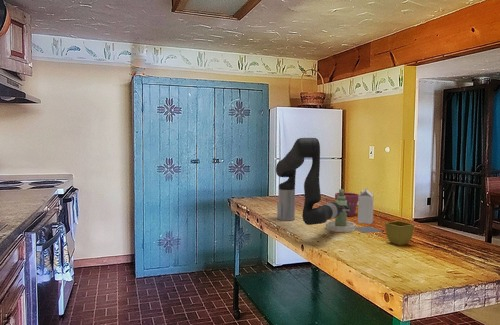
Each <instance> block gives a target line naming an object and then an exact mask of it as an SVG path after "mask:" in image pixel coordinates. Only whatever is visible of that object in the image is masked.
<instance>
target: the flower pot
mask: <svg viewBox="0 0 500 325" xmlns="http://www.w3.org/2000/svg"><path fill="white" fill-rule="evenodd" d="M384 227H385V234H386V238H388V241H389V242H390V243H391V244H395V245H397V246H403V245H408V244H409V243H410V242H411V240H412V238H413V234H414V230H415V224H414V223H409V222H406V221H401V220H394V221H388V222H385V223H384Z"/></svg>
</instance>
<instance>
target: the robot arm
mask: <svg viewBox="0 0 500 325" xmlns="http://www.w3.org/2000/svg"><path fill="white" fill-rule="evenodd" d="M307 158H309V159H311V160H312V161H311V167H310V170H309V171H308V174H307V175H306V178H305V179H304V183H303V190H304V191H303V192H304V203H303V209H302V215H301V216H302V221H303V223H304V224H305V225H307V226H308V225H309V226H312V225H319V224H320V225H321V224H326V222H328V221H330V220H331V219H332V220H333V219H335V217H337V216H338V215H339V214H340V213H341V212H345V211H346V213H349V212H350V211H351V206H350V205H346V206H345V205H338V204H337V203H336V201H329V202H327V203H324V204H322V205H320V206H318V207H314V205H315V204H318V203H320V202H321V201H322V196H321V194H322V193H321V186H320V170H321V166H320V165H321V144H320V141H319V139H318V138H316V137H299V138H297V139H296V140H295V142H294V144H293V146H292V147H291V149H290V150H289V151H288V152H287V153H286V155H285V156H284V157H283V158H282V159H281V160H279V161H278V162H277V163H276V167H275V172H276V175H277V176H278V177H279V178H288V179H287V180H285V181H283V182H280V183H279V184H278V201H277V203H276V204H277V207H276V208H277V210H276V211H277V212H276V216H277V217H276V218H277V220H279V221H295V218H296V216H295V212H296V209H295V208H296V205H295V204H296V203H295V202H296V197H295V196H296V175H297V169H299V168H300V167H301V166H302V165H304V162H305V159H307Z"/></svg>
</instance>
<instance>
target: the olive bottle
mask: <svg viewBox="0 0 500 325" xmlns="http://www.w3.org/2000/svg"><path fill="white" fill-rule="evenodd" d="M338 190H339V191H338V193H339V196H337V200H335V203H337V204H338V205H345V206H346V205H347V200H345V197H346V196H344V193H345V189H344V188H339V189H338ZM347 217H348V216H347V213H346V211H345V212H341V213H340V214H339V215H338V216H337V217H335V218H334V221H335V226H346V221H348V220H347Z"/></svg>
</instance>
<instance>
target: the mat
mask: <svg viewBox="0 0 500 325" xmlns="http://www.w3.org/2000/svg"><path fill="white" fill-rule="evenodd" d="M355 231H358V232H360V233H363V234H366V233H367V234H370V233H382V232H384V231H383V230H381V229H378V228H375V227H372V226H358V227H357V226H356V229H355Z"/></svg>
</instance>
